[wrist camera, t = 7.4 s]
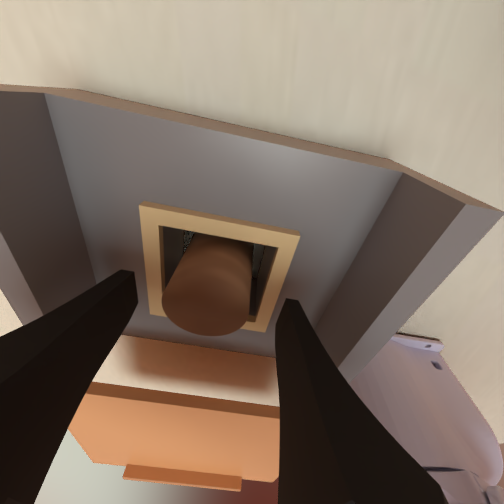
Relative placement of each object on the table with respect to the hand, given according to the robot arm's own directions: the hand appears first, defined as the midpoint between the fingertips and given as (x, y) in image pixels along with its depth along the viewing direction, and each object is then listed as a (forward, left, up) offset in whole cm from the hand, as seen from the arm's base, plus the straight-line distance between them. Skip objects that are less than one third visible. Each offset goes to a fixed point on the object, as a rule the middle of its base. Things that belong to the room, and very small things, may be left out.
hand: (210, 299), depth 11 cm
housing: (0, 0, -5) cm, 5 cm away
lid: (0, +13, +2) cm, 13 cm away
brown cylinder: (0, 0, -5) cm, 5 cm away
